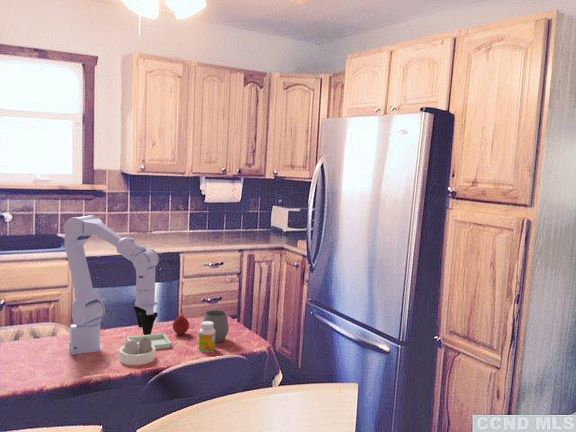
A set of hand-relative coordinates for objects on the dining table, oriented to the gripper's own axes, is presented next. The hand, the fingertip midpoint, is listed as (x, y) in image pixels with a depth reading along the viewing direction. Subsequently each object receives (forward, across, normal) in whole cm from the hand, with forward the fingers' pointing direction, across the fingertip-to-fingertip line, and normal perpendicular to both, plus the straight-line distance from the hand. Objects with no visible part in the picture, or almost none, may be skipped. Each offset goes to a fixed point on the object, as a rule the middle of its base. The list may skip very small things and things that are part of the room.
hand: (144, 330), depth 171 cm
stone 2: (+9, 0, 0) cm, 9 cm away
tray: (+9, +11, -4) cm, 15 cm away
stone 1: (+9, 0, +4) cm, 10 cm away
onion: (+9, +18, -17) cm, 27 cm away
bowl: (+9, 0, +2) cm, 9 cm away
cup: (+9, +9, -27) cm, 30 cm away
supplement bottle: (+9, 0, -21) cm, 23 cm away
